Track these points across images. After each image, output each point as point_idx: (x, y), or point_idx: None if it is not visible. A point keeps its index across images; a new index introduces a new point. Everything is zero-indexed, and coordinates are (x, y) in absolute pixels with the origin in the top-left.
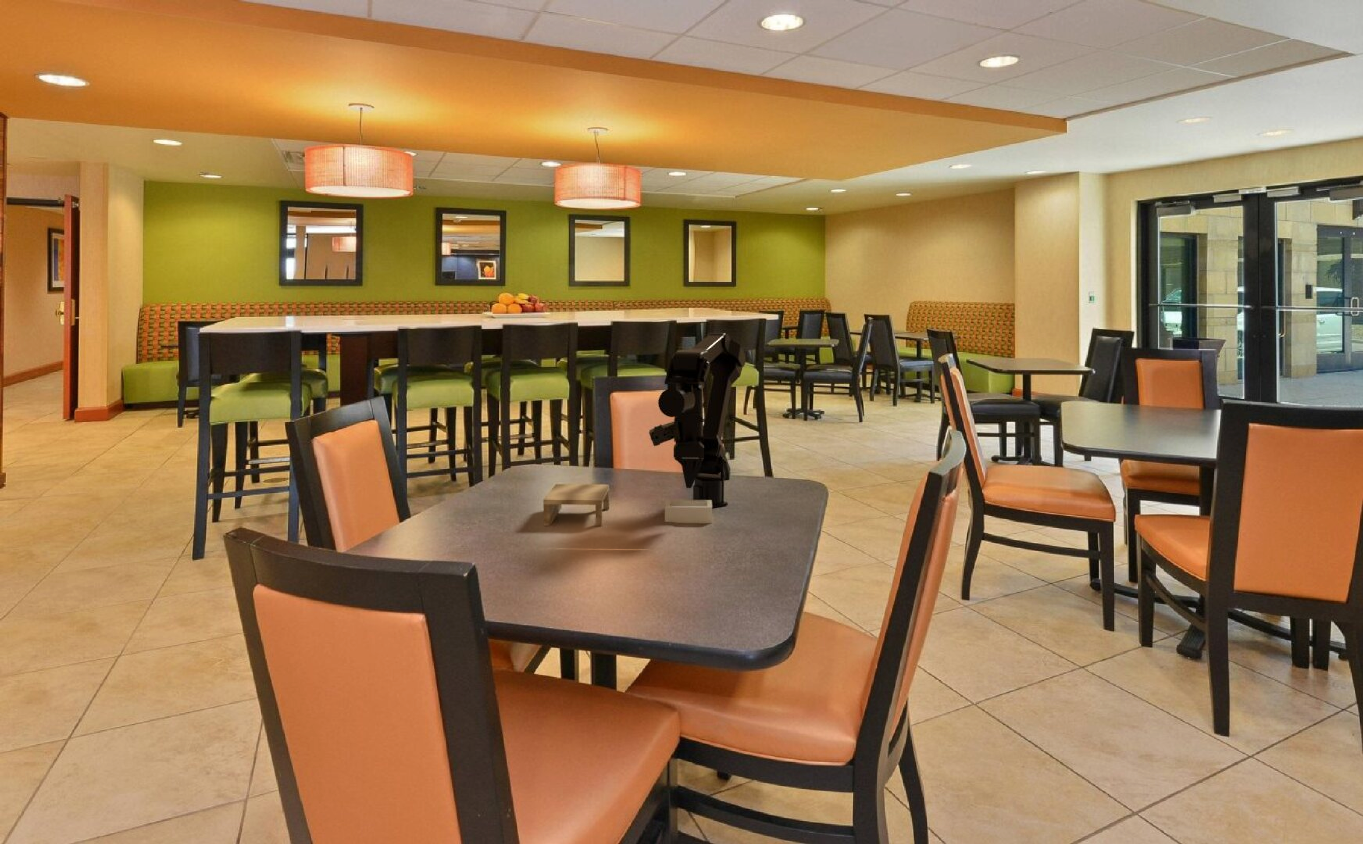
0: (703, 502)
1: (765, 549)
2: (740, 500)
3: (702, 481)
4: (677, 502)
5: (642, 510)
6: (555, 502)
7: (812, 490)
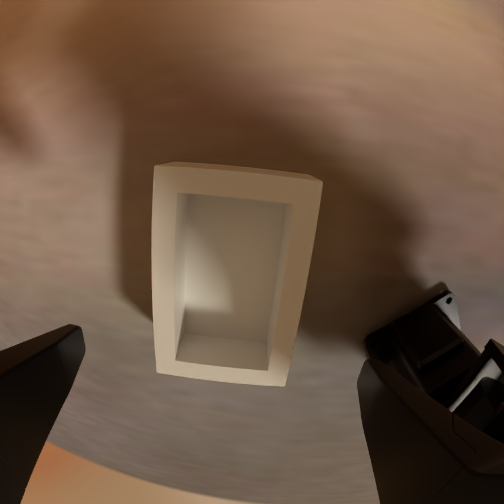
0: (269, 354)
1: None
2: None
3: (427, 392)
4: (287, 239)
5: (385, 83)
6: None
7: None
